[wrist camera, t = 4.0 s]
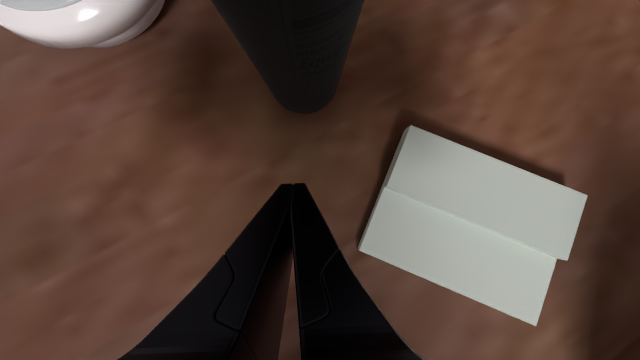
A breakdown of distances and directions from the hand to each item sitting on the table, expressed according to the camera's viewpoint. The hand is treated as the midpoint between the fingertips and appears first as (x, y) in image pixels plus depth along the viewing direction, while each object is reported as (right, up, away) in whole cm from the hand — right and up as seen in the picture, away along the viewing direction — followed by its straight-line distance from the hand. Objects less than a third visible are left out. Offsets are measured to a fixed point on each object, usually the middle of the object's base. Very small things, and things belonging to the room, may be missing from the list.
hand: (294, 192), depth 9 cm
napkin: (+11, -2, +8) cm, 14 cm away
